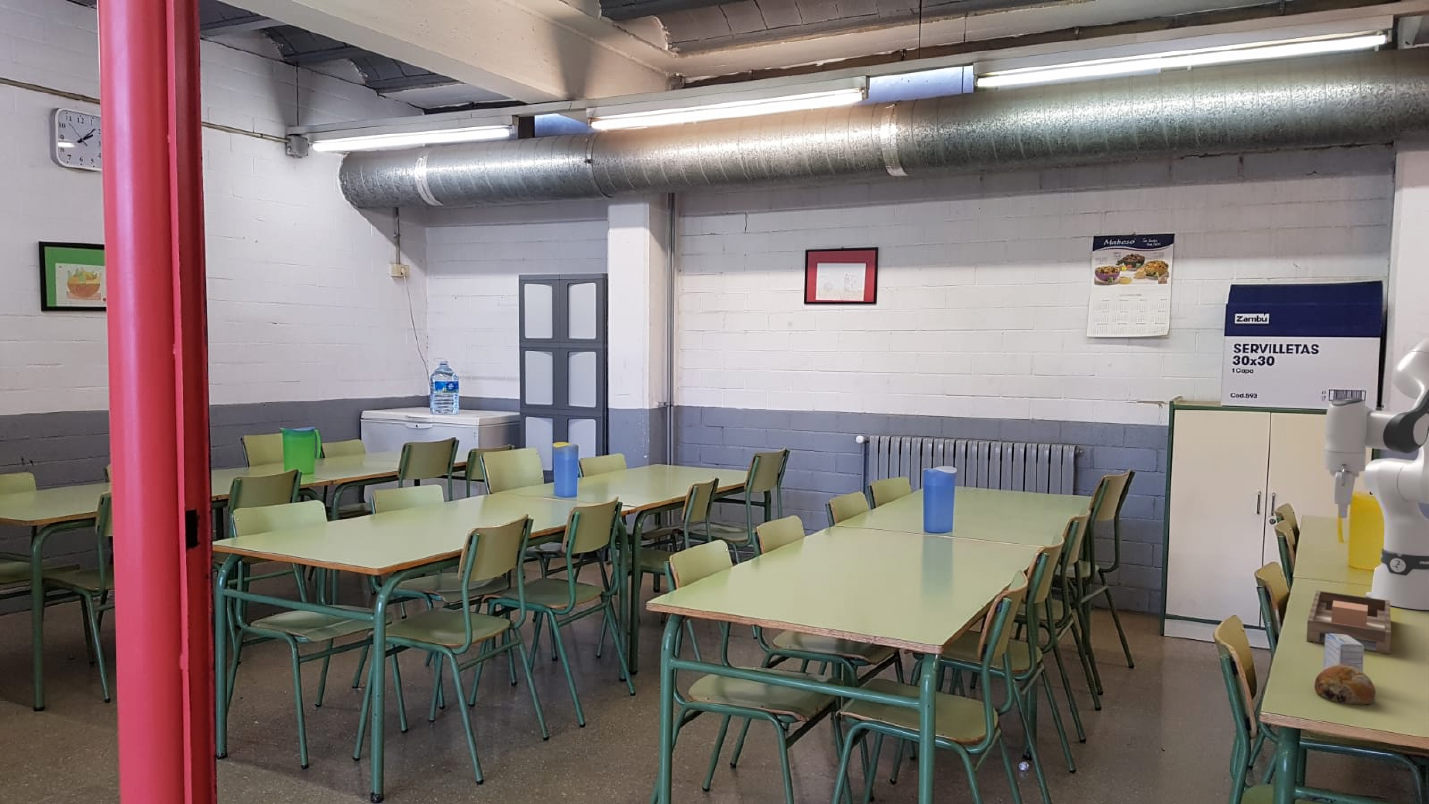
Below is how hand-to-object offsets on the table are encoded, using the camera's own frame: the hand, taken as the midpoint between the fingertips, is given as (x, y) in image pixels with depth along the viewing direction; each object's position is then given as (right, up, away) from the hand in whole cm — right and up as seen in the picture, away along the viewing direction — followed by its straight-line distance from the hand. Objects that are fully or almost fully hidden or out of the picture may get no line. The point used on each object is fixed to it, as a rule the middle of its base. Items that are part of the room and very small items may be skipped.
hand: (1342, 517), depth 249 cm
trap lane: (-4, -27, -8) cm, 28 cm away
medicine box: (-30, -28, -46) cm, 62 cm away
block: (-6, -24, -12) cm, 28 cm away
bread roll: (-36, -29, -56) cm, 73 cm away
